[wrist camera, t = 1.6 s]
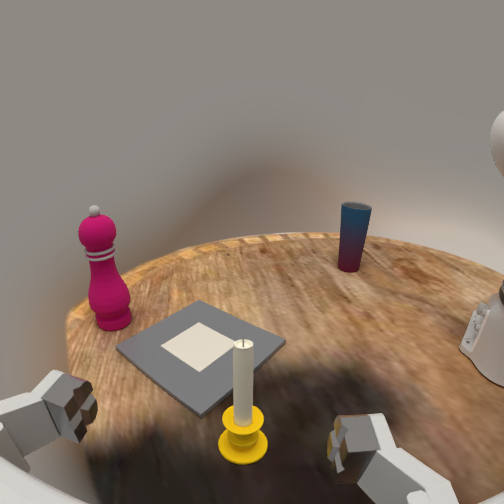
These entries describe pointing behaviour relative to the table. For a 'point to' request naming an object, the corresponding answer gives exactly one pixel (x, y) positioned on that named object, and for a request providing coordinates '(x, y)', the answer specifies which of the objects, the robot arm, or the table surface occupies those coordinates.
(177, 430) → the table surface
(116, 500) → the table surface
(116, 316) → the pepper mill
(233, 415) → the candle
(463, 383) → the table surface
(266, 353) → the tile
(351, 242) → the cup
